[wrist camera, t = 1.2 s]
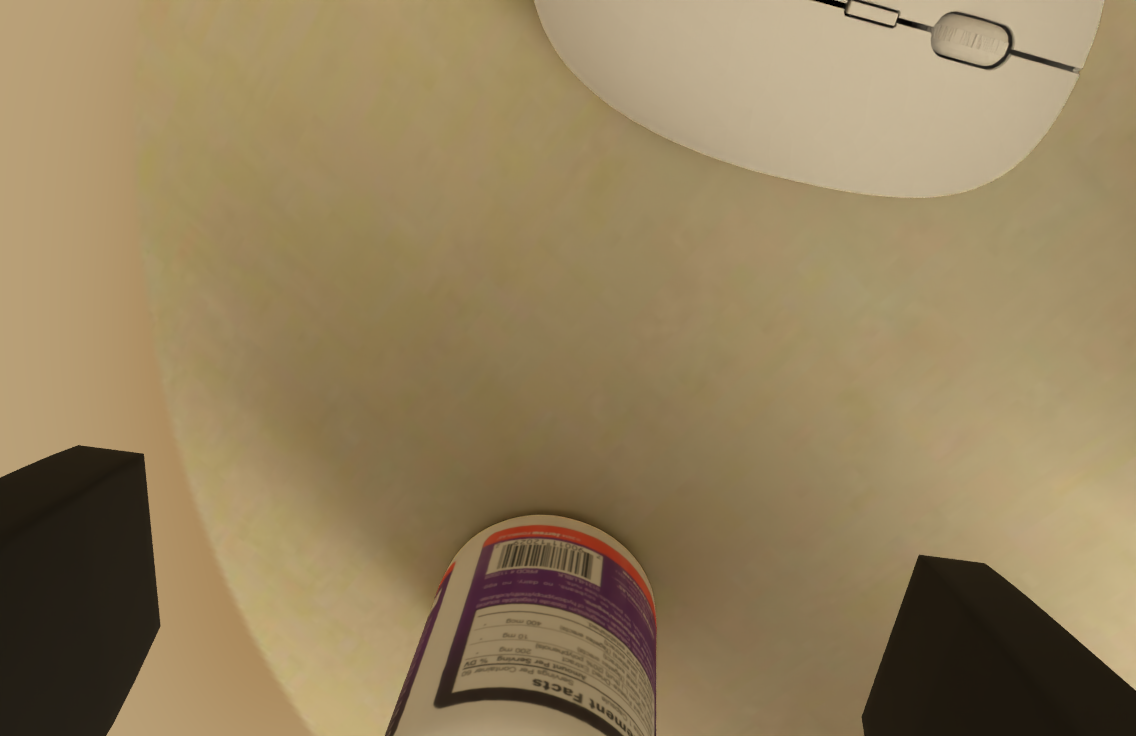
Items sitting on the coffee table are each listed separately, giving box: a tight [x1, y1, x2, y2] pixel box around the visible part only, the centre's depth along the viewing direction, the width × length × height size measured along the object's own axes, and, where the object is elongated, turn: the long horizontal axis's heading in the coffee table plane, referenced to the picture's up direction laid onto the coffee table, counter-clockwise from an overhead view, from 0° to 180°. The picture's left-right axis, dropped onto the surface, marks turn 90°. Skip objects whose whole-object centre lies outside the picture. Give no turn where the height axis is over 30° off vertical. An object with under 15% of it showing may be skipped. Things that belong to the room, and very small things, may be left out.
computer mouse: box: [534, 0, 1104, 198], centre depth 16 cm, size 6×10×3 cm, turn 76°
